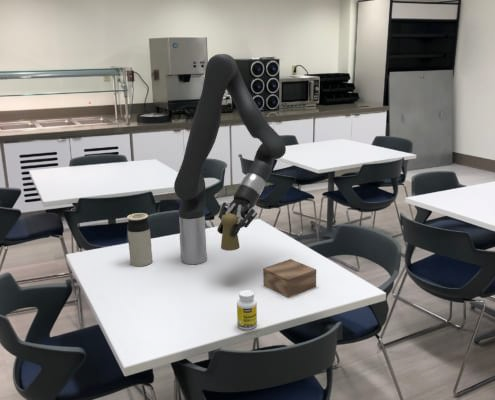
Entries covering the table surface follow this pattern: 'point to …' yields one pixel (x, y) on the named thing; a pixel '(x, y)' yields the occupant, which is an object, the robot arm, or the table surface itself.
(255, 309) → the supplement bottle
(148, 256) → the travel mug
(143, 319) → the table surface
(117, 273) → the table surface
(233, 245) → the cork
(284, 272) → the walnut riser
